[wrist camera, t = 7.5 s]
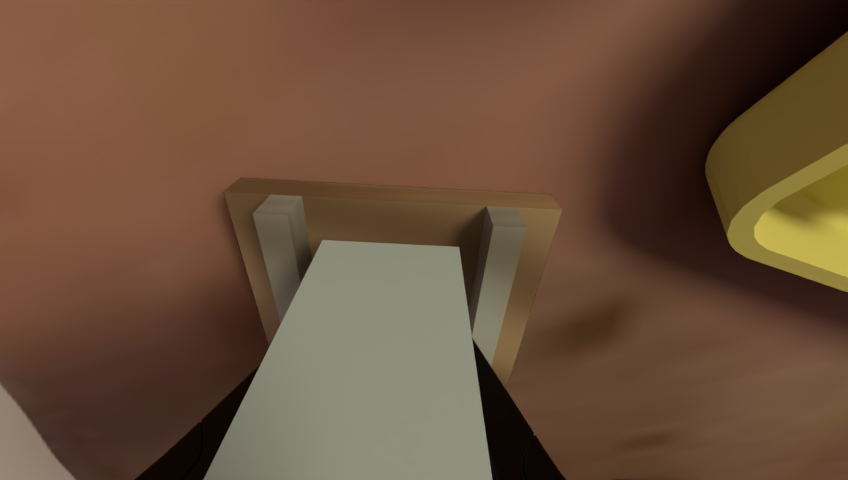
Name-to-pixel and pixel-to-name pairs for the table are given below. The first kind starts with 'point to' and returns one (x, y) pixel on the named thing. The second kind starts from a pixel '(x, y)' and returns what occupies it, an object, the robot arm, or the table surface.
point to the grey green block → (366, 375)
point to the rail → (401, 224)
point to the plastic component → (790, 173)
